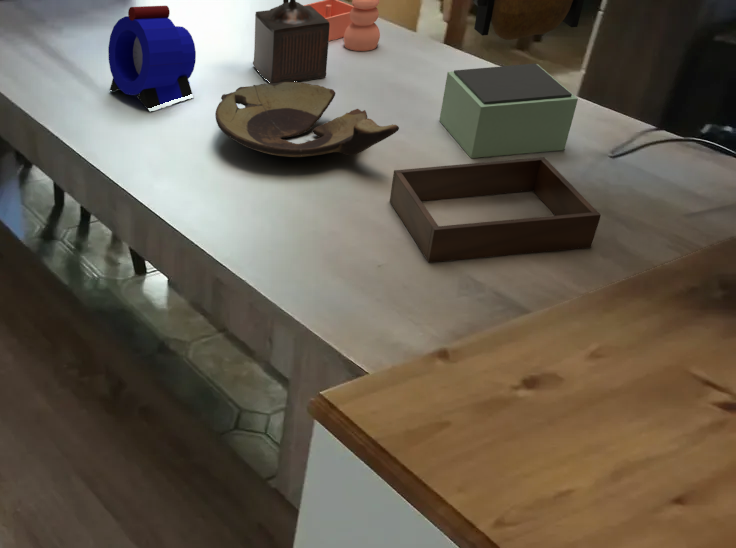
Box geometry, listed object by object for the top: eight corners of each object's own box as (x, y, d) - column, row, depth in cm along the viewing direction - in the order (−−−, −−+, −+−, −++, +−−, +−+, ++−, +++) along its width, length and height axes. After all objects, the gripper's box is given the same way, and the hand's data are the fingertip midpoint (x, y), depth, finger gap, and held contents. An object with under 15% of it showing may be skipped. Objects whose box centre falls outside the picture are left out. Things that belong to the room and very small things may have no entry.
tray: (591, 247, 115) (601, 214, 112) (428, 262, 115) (434, 229, 112) (536, 187, 128) (544, 156, 125) (389, 201, 127) (393, 170, 124)
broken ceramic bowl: (310, 102, 154) (314, 54, 149) (417, 172, 133) (426, 119, 128) (189, 129, 148) (188, 81, 143) (280, 206, 127) (283, 153, 122)
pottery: (292, 30, 181) (295, -24, 174) (330, 20, 184) (335, -34, 177) (351, 56, 169) (357, -2, 162) (391, 45, 172) (399, -12, 165)
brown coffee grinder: (305, 57, 170) (312, -51, 158) (327, 78, 161) (336, -35, 149) (223, 68, 168) (225, -41, 156) (242, 89, 160) (244, -24, 148)
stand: (564, 150, 136) (579, 95, 131) (470, 158, 135) (481, 104, 130) (526, 113, 146) (538, 61, 141) (439, 120, 146) (448, 69, 141)
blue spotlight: (106, 93, 162) (99, 1, 152) (162, 75, 166) (160, -15, 156) (146, 113, 154) (142, 18, 144) (204, 94, 159) (204, 1, 149)
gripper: (653, -192, 107) (600, 10, 121) (455, -175, 106) (425, 26, 120) (689, -182, 101) (628, 29, 116) (480, -165, 100) (446, 45, 115)
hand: (525, 28), depth 118 cm, fingers closed on potato, 11 cm apart
